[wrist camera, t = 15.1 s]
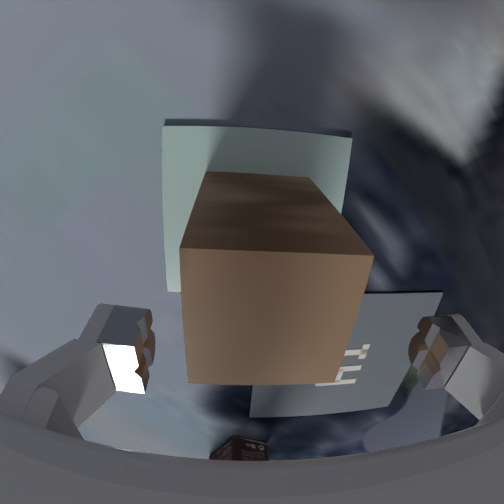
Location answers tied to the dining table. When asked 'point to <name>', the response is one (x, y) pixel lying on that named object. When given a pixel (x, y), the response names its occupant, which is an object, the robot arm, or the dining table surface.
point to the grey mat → (358, 361)
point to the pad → (240, 169)
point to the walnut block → (268, 281)
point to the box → (241, 450)
